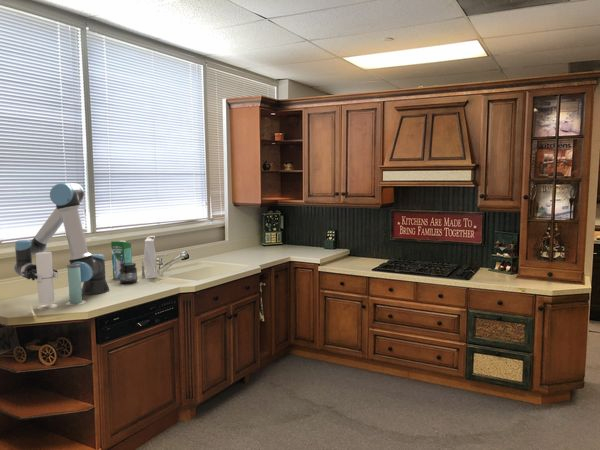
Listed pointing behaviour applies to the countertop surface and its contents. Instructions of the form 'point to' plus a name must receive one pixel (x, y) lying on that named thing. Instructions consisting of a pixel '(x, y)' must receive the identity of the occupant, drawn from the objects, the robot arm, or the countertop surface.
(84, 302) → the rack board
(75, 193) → the robot arm
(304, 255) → the countertop surface
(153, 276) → the skyscraper
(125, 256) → the milk carton
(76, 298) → the teal tube
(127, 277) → the supplement container
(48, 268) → the tall white block
